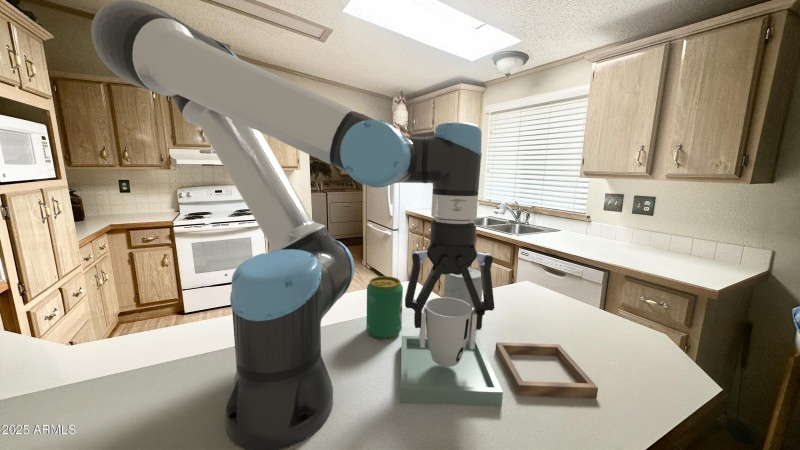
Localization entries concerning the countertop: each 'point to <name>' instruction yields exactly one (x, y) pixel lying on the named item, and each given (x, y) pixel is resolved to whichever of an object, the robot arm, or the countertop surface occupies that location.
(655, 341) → the countertop surface
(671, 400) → the countertop surface
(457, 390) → the tray
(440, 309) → the cup
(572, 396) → the frame
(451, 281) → the grey stone cylinder
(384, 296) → the beverage can
